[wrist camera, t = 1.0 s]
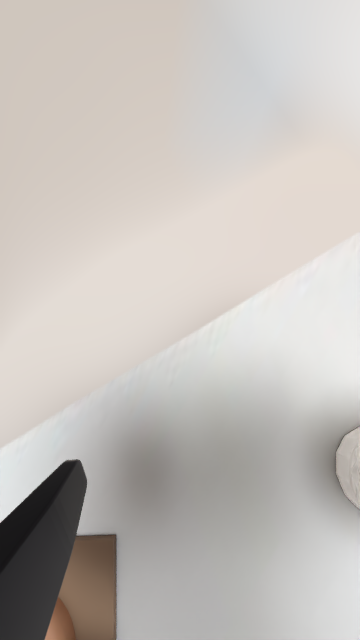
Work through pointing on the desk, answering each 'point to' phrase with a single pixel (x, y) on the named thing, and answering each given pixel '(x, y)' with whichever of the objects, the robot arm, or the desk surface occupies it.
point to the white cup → (349, 466)
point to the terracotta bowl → (60, 624)
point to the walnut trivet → (91, 587)
